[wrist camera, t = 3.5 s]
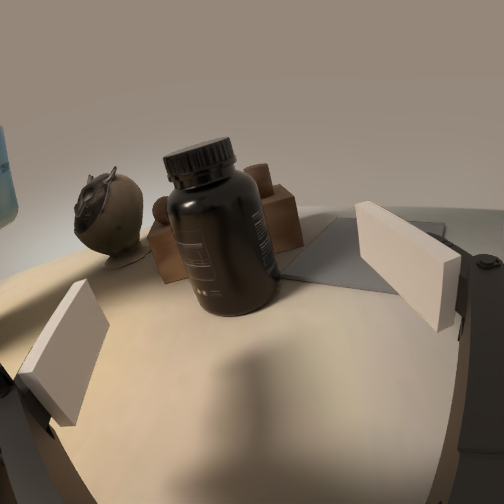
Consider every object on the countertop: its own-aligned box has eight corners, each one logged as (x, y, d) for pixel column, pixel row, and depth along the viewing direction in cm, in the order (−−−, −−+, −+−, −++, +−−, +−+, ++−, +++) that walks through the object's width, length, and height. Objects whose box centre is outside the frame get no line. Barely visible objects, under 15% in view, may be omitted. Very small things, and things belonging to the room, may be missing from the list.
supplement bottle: (242, 266, 30) (207, 139, 26) (299, 281, 25) (266, 127, 21) (183, 304, 26) (134, 164, 22) (236, 331, 22) (181, 154, 17)
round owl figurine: (79, 280, 38) (137, 272, 35) (43, 196, 33) (98, 172, 30) (117, 246, 47) (173, 235, 44) (89, 174, 42) (144, 152, 39)
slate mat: (280, 277, 27) (279, 273, 27) (336, 221, 35) (336, 217, 35) (426, 297, 19) (426, 293, 19) (444, 227, 27) (444, 223, 27)
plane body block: (164, 283, 31) (136, 207, 27) (170, 259, 36) (147, 192, 33) (303, 245, 31) (287, 164, 28) (288, 226, 37) (273, 157, 33)
